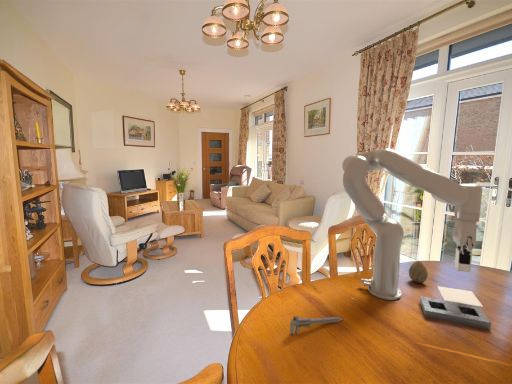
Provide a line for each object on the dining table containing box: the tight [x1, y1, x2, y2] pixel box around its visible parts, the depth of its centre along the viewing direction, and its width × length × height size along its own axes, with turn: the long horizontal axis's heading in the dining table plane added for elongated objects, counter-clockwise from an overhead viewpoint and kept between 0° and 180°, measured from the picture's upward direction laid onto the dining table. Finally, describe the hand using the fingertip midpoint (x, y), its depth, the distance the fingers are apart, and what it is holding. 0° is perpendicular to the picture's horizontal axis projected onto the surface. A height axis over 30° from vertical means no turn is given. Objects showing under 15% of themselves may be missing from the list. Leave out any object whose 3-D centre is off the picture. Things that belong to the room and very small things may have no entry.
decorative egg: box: [408, 260, 429, 284], centre depth 116 cm, size 7×7×10 cm
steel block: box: [454, 247, 473, 273], centre depth 102 cm, size 4×4×8 cm
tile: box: [436, 285, 484, 308], centre depth 104 cm, size 12×12×1 cm
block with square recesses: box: [419, 295, 492, 331], centre depth 92 cm, size 18×10×3 cm, turn 67°
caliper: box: [289, 315, 343, 336], centre depth 87 cm, size 20×1×6 cm, turn 112°
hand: (462, 261), depth 102 cm, fingers closed on steel block, 4 cm apart
